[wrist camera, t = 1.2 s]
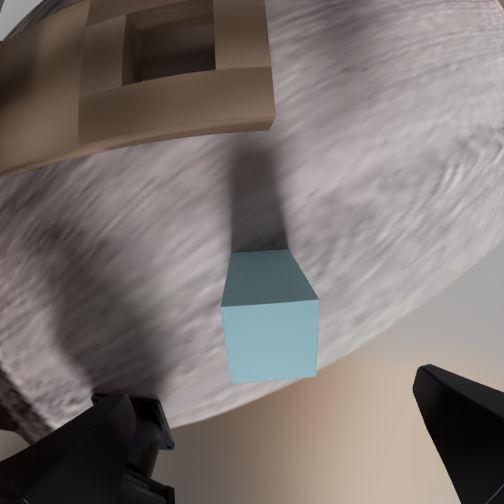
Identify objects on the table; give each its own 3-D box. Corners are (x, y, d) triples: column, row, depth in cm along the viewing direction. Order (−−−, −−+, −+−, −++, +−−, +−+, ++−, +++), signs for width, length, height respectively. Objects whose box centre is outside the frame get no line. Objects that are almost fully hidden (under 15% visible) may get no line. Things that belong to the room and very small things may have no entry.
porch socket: (269, 138, 16) (299, 86, 7) (16, 181, 16) (-84, 195, 7) (256, -6, 14) (263, -109, 4) (23, 56, 14) (-56, 24, 4)
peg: (290, 301, 19) (316, 376, 11) (236, 305, 19) (230, 383, 11) (288, 248, 18) (318, 299, 10) (231, 252, 18) (220, 306, 10)
